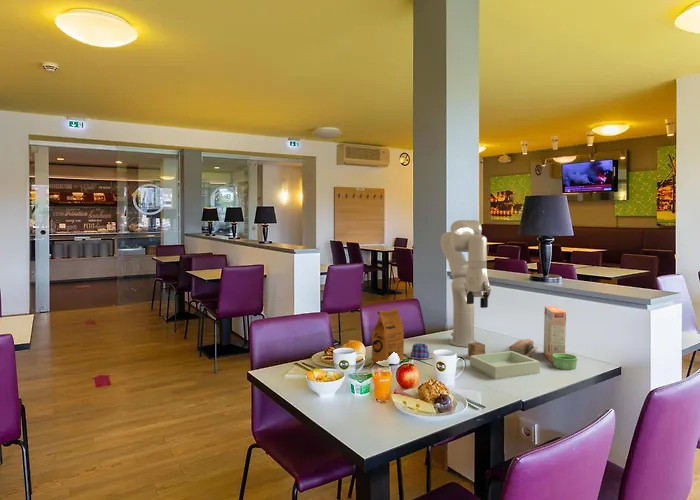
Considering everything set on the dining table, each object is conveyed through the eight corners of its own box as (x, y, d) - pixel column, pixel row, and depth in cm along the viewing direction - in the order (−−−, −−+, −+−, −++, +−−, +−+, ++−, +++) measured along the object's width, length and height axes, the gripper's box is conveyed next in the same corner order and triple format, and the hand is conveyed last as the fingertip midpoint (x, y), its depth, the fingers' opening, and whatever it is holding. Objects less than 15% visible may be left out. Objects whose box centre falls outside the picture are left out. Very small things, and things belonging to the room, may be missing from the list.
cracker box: (565, 363, 191) (566, 312, 190) (550, 362, 192) (550, 311, 191) (557, 353, 205) (558, 306, 203) (543, 353, 206) (543, 305, 205)
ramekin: (582, 368, 185) (582, 357, 184) (567, 371, 180) (568, 360, 180) (561, 362, 192) (561, 351, 192) (547, 365, 188) (547, 355, 188)
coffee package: (368, 362, 193) (367, 309, 192) (390, 357, 201) (390, 306, 200) (384, 368, 186) (384, 313, 184) (407, 362, 193) (407, 309, 192)
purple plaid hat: (434, 353, 207) (435, 342, 207) (433, 361, 195) (433, 349, 195) (407, 352, 210) (407, 340, 210) (404, 359, 198) (404, 347, 198)
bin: (470, 366, 187) (470, 355, 186) (511, 361, 193) (511, 350, 193) (495, 379, 172) (495, 367, 171) (539, 373, 178) (539, 361, 178)
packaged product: (528, 348, 197) (504, 345, 203) (528, 359, 198) (504, 356, 203) (539, 339, 212) (516, 336, 218) (539, 350, 212) (516, 347, 218)
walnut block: (468, 357, 201) (468, 343, 201) (478, 355, 203) (478, 342, 202) (475, 360, 196) (475, 345, 196) (485, 358, 198) (485, 344, 198)
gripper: (458, 263, 204) (457, 303, 205) (482, 267, 188) (481, 309, 189) (472, 263, 207) (472, 302, 208) (497, 266, 190) (497, 308, 191)
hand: (477, 305), depth 198 cm, fingers open, 9 cm apart
